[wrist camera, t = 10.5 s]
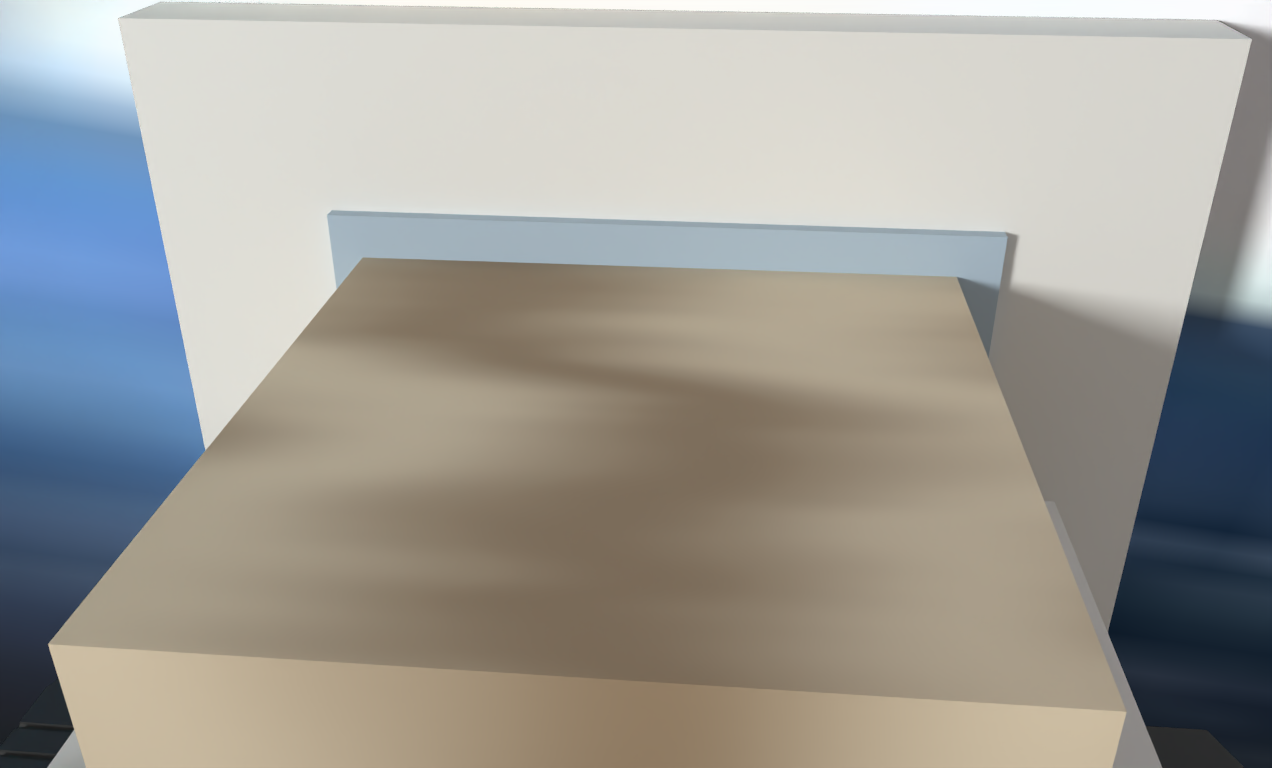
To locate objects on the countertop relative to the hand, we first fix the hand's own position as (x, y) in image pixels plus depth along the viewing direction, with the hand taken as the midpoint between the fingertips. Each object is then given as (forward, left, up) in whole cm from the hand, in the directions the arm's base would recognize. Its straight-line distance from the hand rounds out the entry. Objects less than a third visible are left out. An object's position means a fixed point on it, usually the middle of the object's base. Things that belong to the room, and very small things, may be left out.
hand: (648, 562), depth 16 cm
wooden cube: (0, 0, -1) cm, 1 cm away
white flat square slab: (0, 0, -3) cm, 3 cm away
